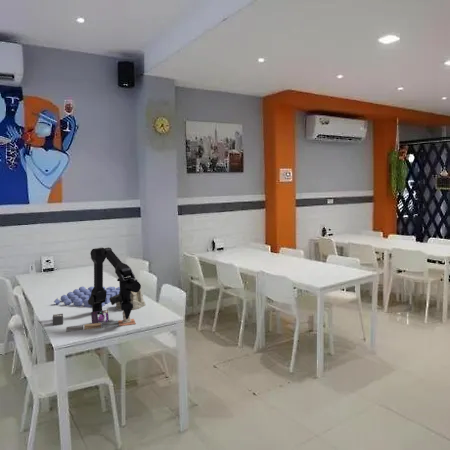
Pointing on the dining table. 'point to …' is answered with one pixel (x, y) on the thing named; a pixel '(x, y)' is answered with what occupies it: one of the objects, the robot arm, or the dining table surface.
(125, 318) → the pawn
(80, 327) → the game board
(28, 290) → the dining table surface
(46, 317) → the dining table surface
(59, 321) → the die
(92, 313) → the game card
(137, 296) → the sand castle
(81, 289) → the blocks
